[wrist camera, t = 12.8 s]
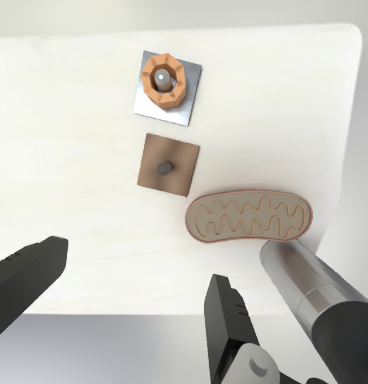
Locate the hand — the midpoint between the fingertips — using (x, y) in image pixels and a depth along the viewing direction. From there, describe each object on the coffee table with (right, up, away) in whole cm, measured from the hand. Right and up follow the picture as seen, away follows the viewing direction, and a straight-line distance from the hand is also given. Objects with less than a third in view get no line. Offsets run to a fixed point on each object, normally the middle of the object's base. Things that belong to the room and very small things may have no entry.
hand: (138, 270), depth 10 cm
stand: (-1, +9, +26) cm, 28 cm away
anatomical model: (+14, +1, +29) cm, 32 cm away
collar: (0, +22, +23) cm, 32 cm away
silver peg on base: (-1, +22, +24) cm, 32 cm away
